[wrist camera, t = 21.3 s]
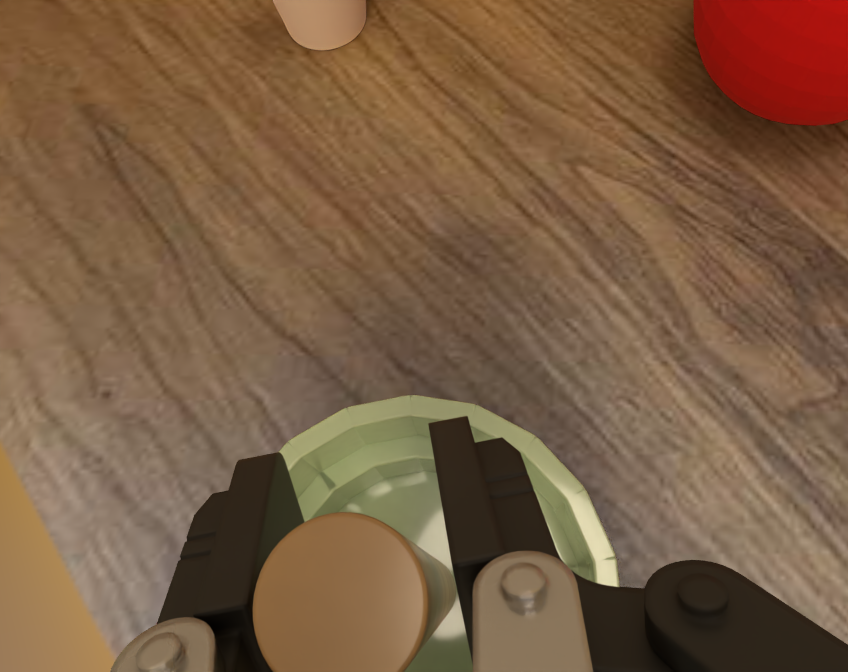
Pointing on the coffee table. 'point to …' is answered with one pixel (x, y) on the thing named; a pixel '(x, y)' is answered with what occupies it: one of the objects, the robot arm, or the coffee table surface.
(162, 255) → the coffee table surface
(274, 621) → the stick
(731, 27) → the ornament
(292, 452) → the bowl
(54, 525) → the coffee table surface
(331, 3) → the smoothie
